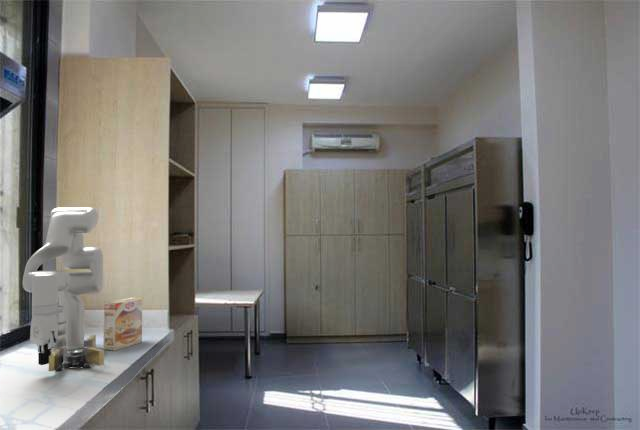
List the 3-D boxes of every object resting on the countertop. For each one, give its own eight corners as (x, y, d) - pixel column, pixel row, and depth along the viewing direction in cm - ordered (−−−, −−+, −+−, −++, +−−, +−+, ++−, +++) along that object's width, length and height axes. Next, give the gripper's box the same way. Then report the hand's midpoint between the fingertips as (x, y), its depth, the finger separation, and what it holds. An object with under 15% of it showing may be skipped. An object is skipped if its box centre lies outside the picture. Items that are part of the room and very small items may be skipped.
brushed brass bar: (55, 369, 153) (55, 348, 153) (64, 368, 154) (64, 347, 154) (46, 379, 142) (46, 356, 143) (56, 378, 143) (56, 355, 144)
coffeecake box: (115, 350, 176) (115, 303, 177) (102, 349, 179) (103, 302, 180) (142, 342, 190) (143, 297, 191) (130, 340, 193) (130, 297, 194)
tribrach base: (56, 368, 154) (57, 353, 154) (81, 360, 163) (81, 346, 164) (74, 371, 151) (74, 356, 151) (98, 363, 160) (98, 348, 160)
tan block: (80, 368, 153) (81, 347, 154) (88, 366, 156) (88, 345, 156) (97, 373, 147) (97, 351, 148) (105, 371, 150) (105, 349, 150)
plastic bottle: (71, 357, 168) (72, 305, 169) (55, 362, 162) (56, 308, 162) (59, 355, 170) (59, 304, 171) (43, 360, 164) (43, 307, 165)
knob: (91, 360, 163) (91, 340, 163) (82, 361, 162) (83, 341, 162) (97, 353, 173) (97, 334, 174) (89, 353, 172) (89, 334, 173)
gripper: (22, 309, 147) (22, 362, 147) (43, 314, 139) (42, 371, 139) (46, 305, 154) (46, 357, 153) (67, 310, 145) (67, 364, 145)
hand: (44, 363), depth 146 cm, fingers closed
